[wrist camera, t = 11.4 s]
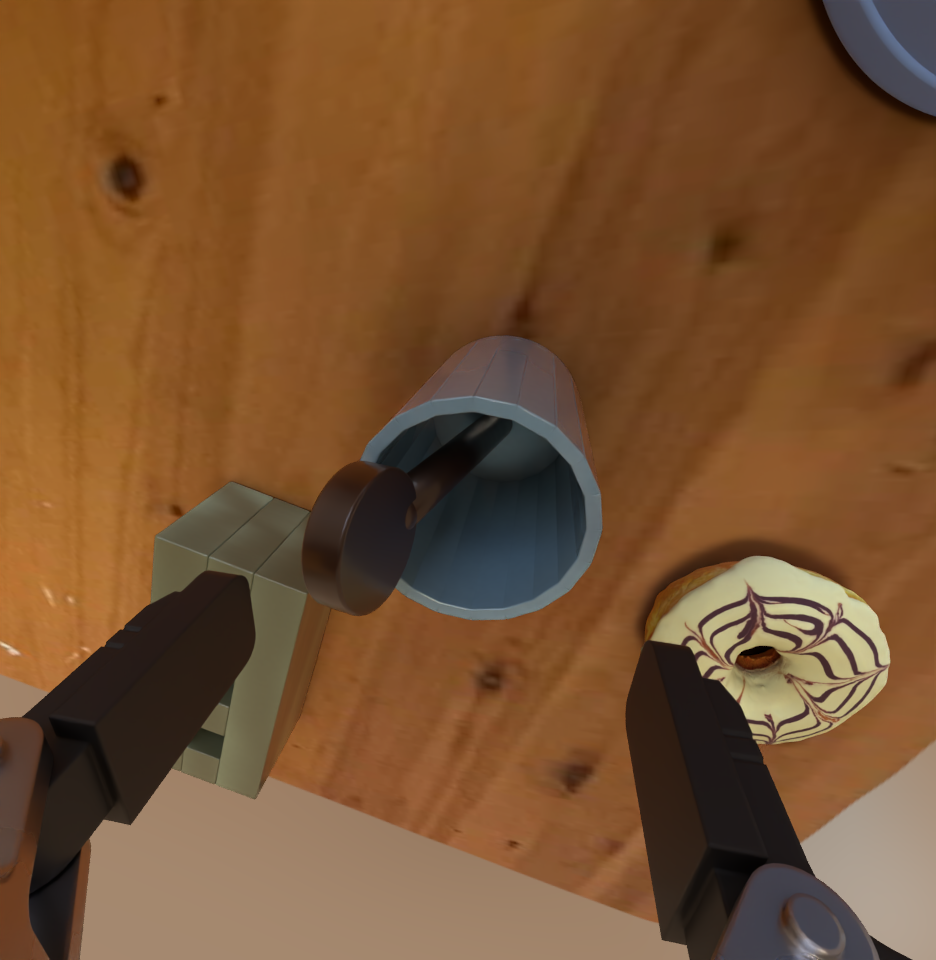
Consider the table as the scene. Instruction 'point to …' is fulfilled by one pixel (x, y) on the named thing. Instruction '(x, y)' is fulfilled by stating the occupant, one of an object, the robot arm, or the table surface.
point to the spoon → (382, 519)
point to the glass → (499, 483)
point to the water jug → (891, 45)
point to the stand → (278, 623)
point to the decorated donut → (777, 643)
